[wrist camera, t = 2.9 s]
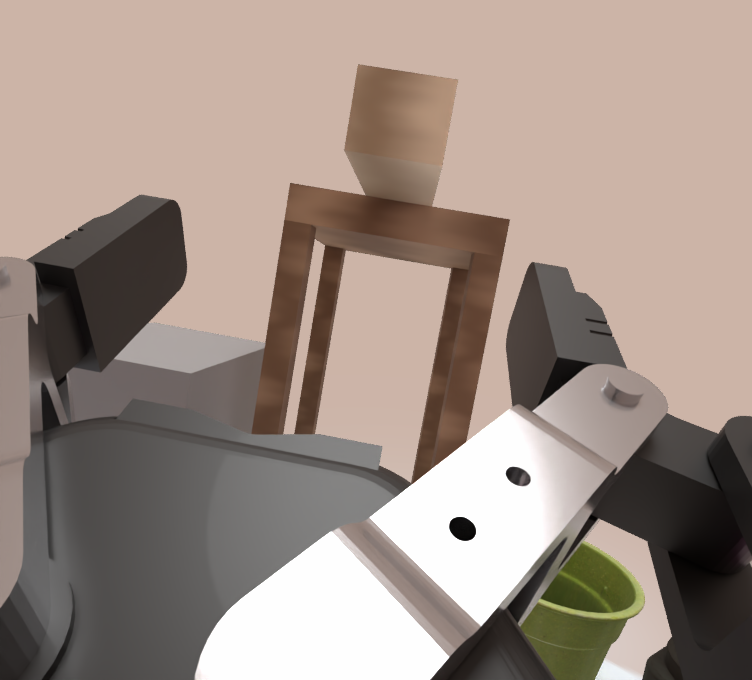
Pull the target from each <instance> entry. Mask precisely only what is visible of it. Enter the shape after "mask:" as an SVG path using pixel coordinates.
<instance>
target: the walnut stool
mask: <svg viewBox="0 0 752 680" xmlns="http://www.w3.org/2000/svg"><path fill="white" fill-rule="evenodd" d="M509 221H510V220H509V219H503V218H497V217H491V216H485V215H479V214H473V213H467V212H461V211H455V210H449V209H443V208H437V207H431V206H425V205H419V204H413V203H407V202H401V201H395V200H389V199H383V198H377V197H371V196H365V195H359V194H353V193H347V192H341V191H335V190H329V189H323V188H317V187H311V186H305V185H299V184H293V183H290V188H289V195H288V201H287V208H286V214H285V220H284V227H283V233H282V240H281V247H280V253H279V259H278V266H277V272H276V278H275V285H274V291H273V298H272V304H271V310H270V317H269V323H268V330H267V336H266V343H265V349H264V356H263V362H262V368H261V375H260V381H259V388H258V394H257V401H256V407H255V413H254V420H253V426H252V433H251V434H256V435H283V432H284V424H285V418H286V413H287V407H288V400H289V394H290V388H291V382H292V376H293V370H294V363H295V357H296V350H297V344H298V339H299V332H300V326H301V320H302V314H303V307H304V301H305V295H306V288H307V283H308V276H309V270H310V264H311V258H312V252H313V246H314V239H316V240H317V241H319V242H321V243H322V244H324V245H325V250H324V256H323V262H322V268H321V274H320V281H319V287H318V293H317V299H316V305H315V311H314V317H313V323H312V329H311V336H310V342H309V348H308V354H307V360H306V366H305V372H304V378H303V385H302V391H301V397H300V403H299V409H298V415H297V421H296V428H295V433H294V434H315V430H316V424H317V418H318V412H319V406H320V400H321V394H322V388H323V382H324V376H325V370H326V364H327V358H328V352H329V346H330V340H331V334H332V329H333V322H334V316H335V310H336V304H337V299H338V293H339V287H340V281H341V274H342V269H343V263H344V257H345V251H346V250H347V251H353V252H359V253H365V254H370V255H376V256H382V257H388V258H394V259H399V260H405V261H411V262H418V263H423V264H428V265H435V266H440V267H446V268H451V273H450V279H449V284H448V289H447V295H446V300H445V305H444V311H443V316H442V322H441V327H440V332H439V337H438V343H437V348H436V353H435V359H434V364H433V370H432V375H431V380H430V386H429V391H428V396H427V402H426V407H425V413H424V417H423V423H422V428H421V433H420V439H419V444H418V449H417V455H416V460H415V465H414V471H413V476H412V482H411V484H414V483H415V482H417V481H418V480H419V479H420V478H422V477H423V476H424V475H426V474H427V473H428V472H429V471H431V470H432V469H433V468H435V467H436V466H437V465H438V464H440V463H441V462H442V461H444V460H445V459H446V458H447V457H449V456H450V455H451V454H453V453H454V452H455V451H456V450H458V449H459V448H460V447H461V446H463V445H464V444H465V443H466V440H467V435H468V430H469V425H470V420H471V414H472V409H473V404H474V399H475V394H476V389H477V384H478V378H479V374H480V369H481V364H482V358H483V353H484V348H485V343H486V338H487V333H488V328H489V323H490V318H491V313H492V308H493V302H494V297H495V292H496V287H497V282H498V277H499V272H500V267H501V262H502V256H503V252H504V247H505V242H506V237H507V231H508V226H509Z"/></svg>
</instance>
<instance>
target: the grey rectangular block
mask: <svg viewBox="0 0 752 680" xmlns="http://www.w3.org/2000/svg"><path fill="white" fill-rule="evenodd" d="M264 349H265V343H263V342H257V341H252V340H246V339H241V338H235V337H230V336H224V335H219V334H213V333H208V332H203V331H197V330H191V329H186V328H180V327H175V326H170V325H164V324H159V323H148V324H147V325H146V326H145V327H144V328H143V329H142V330H141V331H140V332H139V333H138V334H137V335H136V336H135V337H134V338H133V339H132V340H131V341H130V342H129V343H128V345H127V346H126V347H125V348H124V349H123V350H122V351H121V352H120V353H119V354H118V355H117V356H116V357H115V358H114V359H113V360H112V361H111V362H110V363H109V364H108V366H107V367H106V368H105V369H104V370H103V371H102V372H101V373H100V372H95V371H90V370H84V369H79V368H74V367H73V368H72V369H71V370H70V371H69V372H68V375H69V379H70V382H71V385H72V393H73V402H74V411H75V420H76V421H80V420H86V419H92V418H99V417H110V416H119V415H120V414H121V412H122V411H123V410H124V409H125V407H126V406H127V405H128V404H129V402H130V401H131V400H132V399H133V398H134V399H139V400H144V401H149V402H154V403H160V404H165V405H170V406H175V407H180V408H186V409H191V410H194V411H197V412H199V413H201V414H203V415H206V416H208V417H210V418H213V419H215V420H217V421H220V422H222V423H224V424H227V425H229V426H231V427H233V428H236V429H238V430H240V431H243V432H245V433H248V434H251V433H252V426H253V420H254V413H255V407H256V401H257V394H258V388H259V381H260V375H261V368H262V362H263V356H264Z"/></svg>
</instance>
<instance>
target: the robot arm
mask: <svg viewBox="0 0 752 680" xmlns="http://www.w3.org/2000/svg"><path fill="white" fill-rule="evenodd" d="M186 273H187V261H186V252H185V244H184V234H183V226H182V217H181V211H180V208H179V205H178V203H177V202H176V201H174V200H169V199H164V198H158V197H152V196H146V195H139V196H137V197H135V198H134V199H132V200H130V201H129V202H127V203H126V204H124V205H123V206H121V207H119V208H118V209H116V210H115V211H113V212H111V213H110V214H107V215H104V216H100V217H97V218H94V219H92V220H91V221H89V222H87V223H86V224H84V225H82V226H81V227H79V228H78V231H76V230H74V231H73V232H71V233H69V234H68V235H67V236H65V239H60V240H58V241H56V242H55V243H53V244H52V245H50V246H48V247H47V248H45V249H43V250H42V251H40V252H39V253H37V254H35V255H34V256H33V257H31V258H29V259H27V260H23V259H19V258H13V257H0V680H556V679H555V677H554V676H553V674H552V673H551V671H550V670H549V668H548V667H547V665H546V664H545V663H544V661H543V660H542V658H541V657H540V655H539V654H538V652H537V651H536V649H535V648H534V647H533V645H532V644H531V642H530V641H529V639H528V638H527V636H526V635H525V633H524V632H523V631H522V629H521V628H520V626H521V625H522V623H523V622H524V621H525V619H526V618H527V617H528V615H529V614H530V612H531V611H532V609H533V608H534V607H535V605H536V604H537V602H538V601H539V599H540V598H541V596H542V595H543V593H544V592H545V591H546V589H547V588H548V586H549V585H550V584H551V582H552V581H553V580H554V578H555V577H556V576H557V575H558V573H559V572H560V571H561V569H562V568H563V567H564V566H565V564H566V563H567V562H568V560H569V559H570V558H571V557H572V555H573V554H574V553H575V551H576V550H577V549H578V548H579V546H580V545H581V544H582V542H583V541H584V540H585V538H586V537H587V536H588V535H589V533H590V532H591V531H592V530H593V528H594V527H595V526H596V524H597V523H598V522H599V520H600V519H601V520H604V521H606V522H608V523H610V524H612V525H614V526H616V527H618V528H621V529H623V530H625V531H627V532H629V533H631V534H634V535H635V536H638V537H640V538H642V539H644V540H646V541H648V546H649V550H650V554H651V557H652V561H653V565H654V569H655V573H656V577H657V580H658V584H659V588H660V592H661V596H662V600H663V604H664V607H665V611H666V615H667V619H668V623H669V627H670V630H671V634H672V638H673V642H674V646H675V650H676V653H677V657H678V661H679V665H680V669H681V672H682V676H683V680H752V566H751V564H750V562H751V561H752V417H751V416H738V417H734V418H731V419H730V420H728V421H727V423H726V424H725V426H724V427H723V428H722V430H721V431H720V432H719V434H717V433H715V432H712V431H709V430H707V429H704V428H701V427H699V426H696V425H694V424H691V423H689V422H686V421H683V420H681V419H678V418H676V417H674V416H672V415H670V414H668V413H667V411H668V403H667V400H666V398H665V396H664V395H663V393H662V392H661V391H660V390H659V389H658V387H656V386H655V385H654V384H653V383H652V382H650V381H649V380H648V379H646V378H645V377H643V376H641V375H639V374H637V373H635V372H633V371H631V370H628V369H627V367H626V365H625V362H624V360H623V358H622V356H621V353H620V351H619V348H618V346H617V344H616V341H615V339H614V337H612V332H611V330H610V327H609V325H607V320H606V318H605V315H604V313H603V310H602V308H601V307H600V306H599V305H598V304H597V303H596V302H595V301H594V300H593V299H592V298H590V297H589V296H588V295H587V294H586V293H580V292H576V291H575V289H574V286H573V283H572V280H571V278H570V275H569V272H568V269H567V268H564V267H558V266H553V265H547V264H540V263H535V262H532V263H531V264H530V265H529V267H528V269H527V272H526V274H525V278H524V281H523V284H522V287H521V290H520V293H519V296H518V299H517V302H516V305H515V309H514V311H513V314H512V317H511V320H510V324H509V328H508V333H507V339H506V352H507V361H508V370H509V379H510V388H511V397H512V406H513V407H512V408H510V409H509V410H508V411H507V412H505V413H504V414H503V415H501V416H500V417H499V418H497V419H496V420H495V421H494V422H492V423H491V424H490V425H489V426H487V427H486V428H485V429H483V430H482V431H481V432H479V434H477V435H476V436H474V437H473V438H472V439H470V440H469V441H468V442H467V443H465V444H464V445H463V446H461V447H460V448H459V449H458V450H456V451H455V452H454V453H453V454H451V455H450V456H449V457H447V458H446V459H445V460H444V461H442V462H441V463H440V464H438V465H437V466H436V467H435V468H433V469H432V470H431V471H429V472H428V473H427V474H426V475H424V476H423V477H422V478H420V479H419V480H418V481H417V482H415V483H414V484H411V483H410V482H408V481H407V480H405V479H404V478H402V477H401V476H399V475H397V474H395V473H394V472H392V471H390V470H388V469H386V468H383V467H381V466H379V462H380V457H381V451H382V446H378V445H373V444H367V443H362V442H357V441H352V440H347V439H341V438H336V437H331V436H326V435H321V434H293V435H292V434H290V435H289V434H287V435H285V434H284V435H256V434H248V433H245V432H243V431H240V430H238V429H236V428H233V427H231V426H229V425H227V424H224V423H222V422H220V421H217V420H215V419H213V418H210V417H208V416H206V415H203V414H201V413H199V412H197V411H194V410H191V409H186V408H180V407H175V406H170V405H165V404H160V403H154V402H149V401H144V400H139V399H134V398H133V399H132V400H131V401H130V402H129V404H128V405H127V406H126V407H125V409H124V410H123V411H122V412H121V414H120V415H119V416H110V417H99V418H92V419H86V420H80V421H76V420H75V411H74V402H73V393H72V385H71V382H70V379H69V375H68V372H69V371H70V370H71V369H72V368H73V367H74V368H79V369H84V370H90V371H95V372H100V373H101V372H102V371H103V370H104V369H105V368H106V367H107V366H108V364H109V363H110V362H111V361H112V360H113V359H114V358H115V357H116V356H117V355H118V354H119V353H120V352H121V351H122V350H123V349H124V348H125V347H126V346H127V345H128V343H129V342H130V341H131V340H132V339H133V338H134V337H135V336H136V335H137V334H138V333H139V332H140V331H141V330H142V329H143V328H144V327H145V326H146V325H147V324H148V322H149V321H150V320H151V319H152V318H153V317H154V316H155V315H156V314H157V313H158V312H159V311H160V310H161V309H162V308H163V307H164V306H165V305H166V304H167V302H168V301H169V300H170V299H171V298H172V297H173V296H174V295H175V294H176V293H177V292H178V291H179V290H180V289H181V287H182V285H183V283H184V281H185V277H186Z"/></svg>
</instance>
